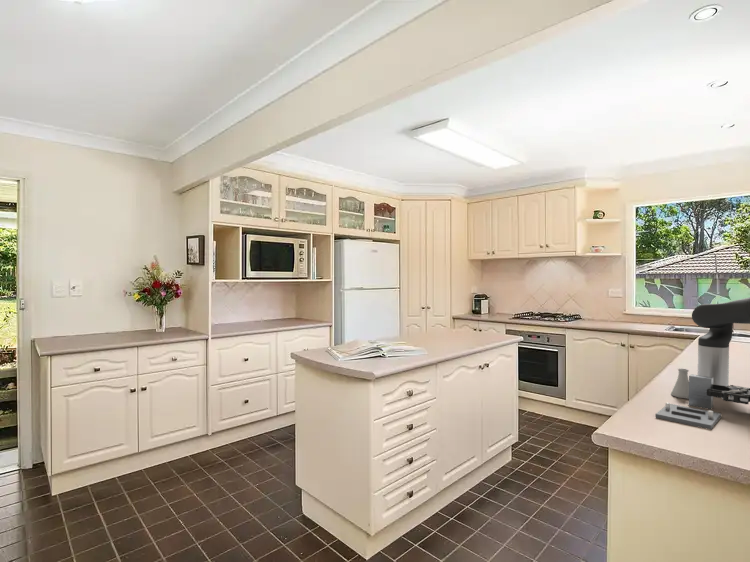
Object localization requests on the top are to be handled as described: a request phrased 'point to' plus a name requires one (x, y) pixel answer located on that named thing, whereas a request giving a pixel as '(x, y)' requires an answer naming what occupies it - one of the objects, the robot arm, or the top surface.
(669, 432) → the top surface
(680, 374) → the flask
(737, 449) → the top surface
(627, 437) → the top surface
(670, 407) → the gray docking base
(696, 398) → the drive
